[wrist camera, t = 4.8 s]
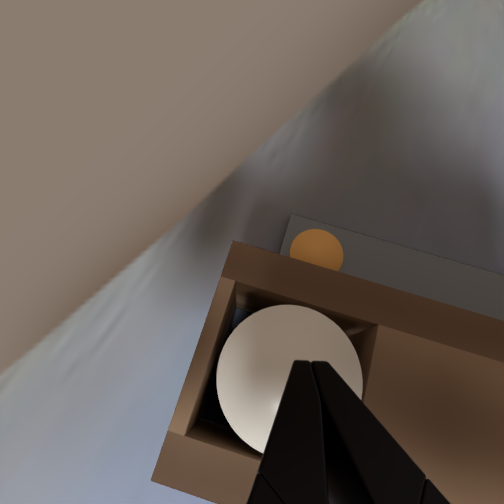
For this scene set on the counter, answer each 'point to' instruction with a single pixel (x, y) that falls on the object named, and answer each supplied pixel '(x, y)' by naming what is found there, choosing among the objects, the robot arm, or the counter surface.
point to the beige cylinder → (276, 364)
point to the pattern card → (395, 266)
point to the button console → (373, 374)
